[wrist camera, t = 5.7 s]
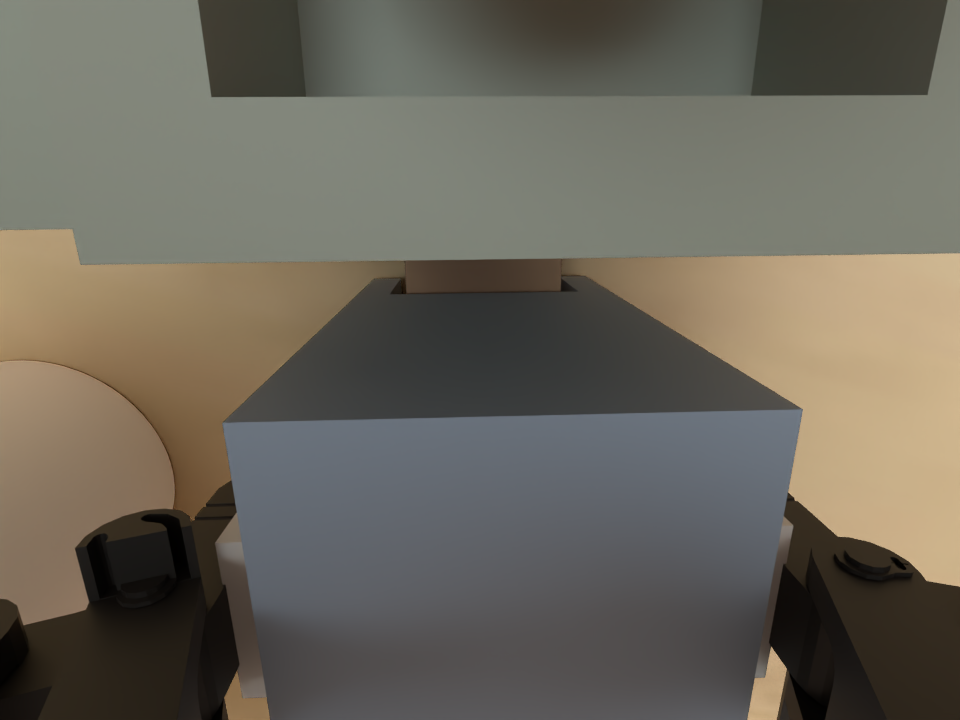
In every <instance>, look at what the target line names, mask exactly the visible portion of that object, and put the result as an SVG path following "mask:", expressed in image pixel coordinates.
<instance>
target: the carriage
mask: <svg viewBox="0 0 960 720" xmlns="http://www.w3.org/2000/svg"><path fill="white" fill-rule="evenodd" d="M802 411H803V409H801V408H800V407H798V406H796V405H795V404H793V403H792V402H790V401H788V400H787V399H785V398H783V397H782V396H780V395H778V394H777V393H775V392H774V391H772V390H770V389H769V388H767V387H765V386H764V385H762V384H761V383H759V382H757V381H756V380H754V379H752V378H751V377H749V376H747V375H746V374H744V373H743V372H741V371H739V370H738V369H736V368H734V367H733V366H731V365H729V364H728V363H726V362H725V361H723V360H721V359H720V358H718V357H716V356H715V355H713V354H712V353H710V352H708V351H707V350H705V349H703V348H702V347H700V346H698V345H697V344H695V343H694V342H692V341H690V340H689V339H687V338H685V337H684V336H682V335H680V334H679V333H677V332H676V331H674V330H672V329H671V328H669V327H667V326H666V325H664V324H663V323H661V322H659V321H658V320H656V319H654V318H653V317H651V316H649V315H648V314H646V313H645V312H643V311H641V310H640V309H638V308H636V307H635V306H633V305H632V304H630V303H628V302H627V301H625V300H623V299H622V298H620V297H618V296H617V295H615V294H614V293H612V292H610V291H609V290H607V289H605V288H604V287H602V286H600V285H599V284H597V283H596V282H594V281H592V280H591V279H589V278H587V277H586V276H561V292H512V293H447V294H402V291H401V278H399V279H374V280H372V281H371V282H370V283H369V284H368V285H367V286H366V287H365V288H364V289H363V290H362V291H361V292H360V293H359V294H358V295H357V296H356V297H355V298H354V299H352V300H351V301H350V302H349V303H348V304H347V305H346V306H345V307H344V308H343V309H342V310H341V311H340V312H339V313H338V314H337V315H336V316H335V317H333V318H332V319H331V320H330V321H329V322H328V323H327V324H326V325H325V326H324V327H323V328H322V329H321V330H320V331H319V332H318V333H317V334H316V335H314V336H313V337H312V338H311V339H310V340H309V341H308V342H307V343H306V344H305V345H304V346H303V347H302V348H301V349H300V350H299V351H298V352H297V353H295V354H294V355H293V356H292V357H291V358H290V359H289V360H288V361H287V362H286V363H285V364H284V365H283V366H282V367H281V368H280V369H279V370H278V371H276V372H275V373H274V374H273V375H272V376H271V377H270V378H269V379H268V380H267V381H266V382H265V383H264V384H263V385H262V386H261V387H260V388H259V389H258V390H256V391H255V392H254V393H253V394H252V395H251V396H250V397H249V398H248V399H247V400H246V401H245V402H244V403H243V404H242V405H241V406H240V407H239V408H237V409H236V410H235V411H234V412H233V413H232V414H231V415H230V416H229V417H228V418H227V419H226V420H225V421H224V422H223V423H222V424H223V430H224V436H225V442H226V449H227V455H228V461H229V467H230V473H231V480H232V486H233V492H234V498H235V504H236V510H237V517H238V523H239V529H240V535H241V541H242V548H243V554H244V560H245V566H246V572H247V579H248V585H249V591H250V597H251V603H252V609H253V616H254V622H255V628H256V634H257V640H258V647H259V653H260V659H261V665H262V671H263V678H264V684H265V690H266V696H267V702H268V708H269V715H270V720H747V718H748V712H749V706H750V701H751V695H752V690H753V684H754V679H755V673H756V667H757V662H758V656H759V651H760V645H761V640H762V634H763V628H764V623H765V617H766V612H767V606H768V601H769V595H770V589H771V584H772V578H773V573H774V567H775V562H776V556H777V550H778V545H779V539H780V534H781V528H782V522H783V517H784V511H785V506H786V500H787V495H788V489H789V483H790V478H791V472H792V467H793V461H794V456H795V450H796V444H797V439H798V433H799V428H800V422H801V417H802Z"/></svg>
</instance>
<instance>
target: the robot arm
mask: <svg viewBox="0 0 960 720" xmlns="http://www.w3.org/2000/svg"><path fill="white" fill-rule="evenodd" d="M75 551H76V555H77V559H78V563H79V566H80V570H81V574H82V578H83V581H84V585H85V589H86V593H87V596H88V600H89V603H88V606H87V608H86V610H83V611H80V612H76V613H73V614H68V615H64V616H60V617H56V618H52V619H47V620H43V621H39V622H35V623H31V624H27V625H23V622H22V619H21V616H20V613H19V610H18V607H17V605H16V604H14V603H12V602H11V601H9V600H7V599H0V720H228V715H227V710H226V705H225V699H224V697H225V695H226V693H227V690H228V688H229V686H230V684H231V682H232V680H233V678H234V676H235V673H236V671H237V670H238V675H239V681H240V687H241V692H242V698H262V697H267V696H266V690H265V684H264V678H263V671H262V665H261V659H260V653H259V647H258V640H257V634H256V628H255V622H254V616H253V609H252V603H251V597H250V591H249V585H248V579H247V572H246V566H245V560H244V554H243V548H242V541H241V535H240V529H239V523H238V517H237V510H236V504H235V498H234V492H233V486H232V480H231V481H230V482H228V483H227V484H225V485H223V486H222V487H220V488H219V489H218V490H217V491H216V493H215V494H214V495H213V496H212V497H211V499H210V500H209V501H208V502H207V503H206V507H203V508H202V509H201V511H200V512H199V513H198V514H197V515H196V517H195V521H190V516H188V515H187V514H185V513H183V512H182V511H180V510H173V509H165V508H164V509H153V510H144V511H140V512H137V513H133V514H129V515H125V516H122V517H120V518H118V519H115V520H113V521H111V522H108V523H106V524H104V525H102V526H100V527H99V528H97V529H96V530H94V531H93V532H91V533H89V534H88V535H86V536H85V537H84V538H83V539H82V541H81V542H80V543H79V544H78V545H77V546H76V547H75ZM771 646H772V648H773V649H774V651H775V652H776V654H777V655H778V657H779V658H780V659H781V661H782V662H783V664H784V665H785V667H786V668H787V672H786V677H785V682H784V687H783V692H782V697H781V702H780V707H779V712H778V717H777V720H960V587H958V586H952V585H946V584H940V583H934V582H928V581H926V580H925V579H924V577H923V576H922V574H921V573H920V572H919V571H918V570H917V569H916V568H915V567H914V566H913V565H912V564H911V563H909V562H908V561H907V560H905V559H904V558H902V557H900V556H899V555H897V554H895V553H894V552H892V551H890V550H888V549H885V548H883V547H880V546H878V545H875V544H873V543H870V542H866V541H862V540H858V539H854V538H849V537H837V536H836V535H835V534H834V533H833V532H832V531H831V530H830V529H828V528H827V527H826V526H825V525H824V524H823V523H822V522H821V521H819V520H818V519H817V518H816V517H815V516H814V515H813V514H812V513H810V512H809V511H808V510H807V509H806V508H805V507H804V506H803V505H801V504H800V503H799V502H798V501H795V500H794V497H792V496H791V495H790V494H789V493H788V495H787V500H786V506H785V511H784V517H783V522H782V528H781V534H780V539H779V545H778V550H777V556H776V562H775V567H774V573H773V578H772V584H771V589H770V595H769V601H768V606H767V612H766V617H765V623H764V628H763V634H762V640H761V645H760V651H759V656H758V662H757V667H756V673H755V678H762V677H765V675H766V670H767V664H768V659H769V653H770V648H771Z"/></svg>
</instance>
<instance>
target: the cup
mask: <svg viewBox="0 0 960 720" xmlns="http://www.w3.org/2000/svg"><path fill="white" fill-rule="evenodd" d="M174 499H175V484H174V475H173V470H172V466H171V463H170V460H169V456H168V454H167V452H166V449H165V447H164V445H163V443H162V441H161V439H160V438H159V436H158V434H157V433H156V431H155V430H154V428H153V427H152V425H151V424H150V423H149V422H148V420H147V419H146V418H145V417H144V416H143V414H142V413H141V412H140V411H139V410H138V409H137V408H136V407H135V406H134V405H133V404H131V403H130V402H129V401H128V400H127V399H126V398H125V397H123V396H122V395H121V394H119V393H118V392H116V391H115V390H114V389H112V388H111V387H109V386H107V385H106V384H104V383H102V382H101V381H99V380H97V379H95V378H93V377H91V376H89V375H86V374H84V373H82V372H79V371H77V370H74V369H71V368H68V367H65V366H61V365H57V364H52V363H47V362H40V361H28V360H14V361H3V362H0V599H7V600H9V601H11V602H12V603H14V604H16V605H17V607H18V610H19V613H20V616H21V619H22V622H23V625H27V624H31V623H35V622H39V621H43V620H47V619H52V618H56V617H60V616H64V615H68V614H73V613H76V612H80V611H83V610H86V608H87V606H88V603H89V600H88V596H87V593H86V589H85V585H84V581H83V578H82V574H81V570H80V566H79V563H78V559H77V555H76V551H75V547H76V546H77V545H78V544H79V543H80V542H81V541H82V539H83V538H84V537H85V536H86V535H88V534H89V533H91V532H93V531H94V530H96V529H97V528H99V527H100V526H102V525H104V524H106V523H108V522H111V521H113V520H115V519H118V518H120V517H122V516H125V515H129V514H133V513H137V512H140V511H144V510H153V509H164V508H165V509H173V506H174Z"/></svg>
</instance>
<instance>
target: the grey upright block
mask: <svg viewBox="0 0 960 720" xmlns="http://www.w3.org/2000/svg"><path fill="white" fill-rule="evenodd" d="M42 229H73V233H74V238H75V242H76V247H77V251H78V255H79V260H80V264H81V265H100V264H176V263H252V262H329V261H405V260H481V259H557V258H634V257H710V256H786V255H862V254H939V253H960V0H0V230H42Z"/></svg>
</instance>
